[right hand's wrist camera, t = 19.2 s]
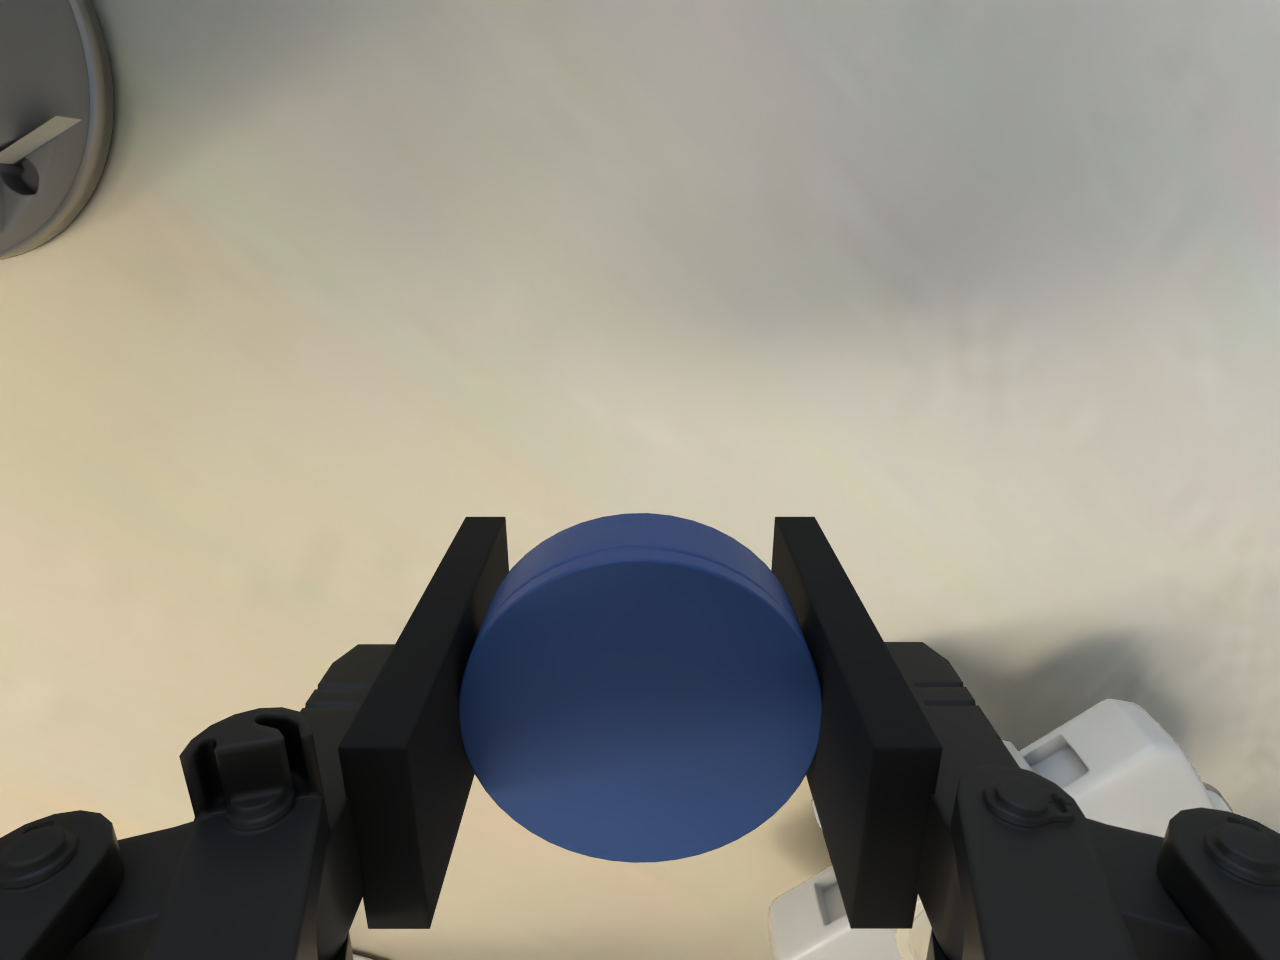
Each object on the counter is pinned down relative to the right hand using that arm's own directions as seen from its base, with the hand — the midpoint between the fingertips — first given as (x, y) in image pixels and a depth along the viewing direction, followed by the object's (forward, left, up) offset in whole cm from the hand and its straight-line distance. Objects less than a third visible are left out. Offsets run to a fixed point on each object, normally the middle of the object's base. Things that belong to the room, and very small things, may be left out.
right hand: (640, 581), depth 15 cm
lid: (0, 0, +4) cm, 4 cm away
